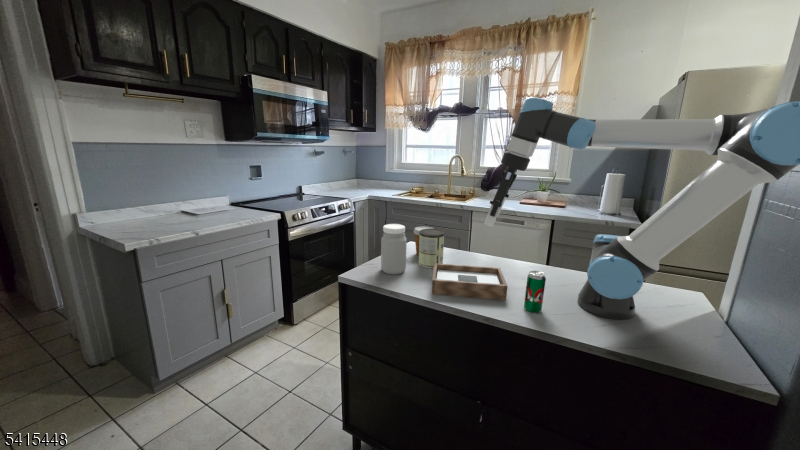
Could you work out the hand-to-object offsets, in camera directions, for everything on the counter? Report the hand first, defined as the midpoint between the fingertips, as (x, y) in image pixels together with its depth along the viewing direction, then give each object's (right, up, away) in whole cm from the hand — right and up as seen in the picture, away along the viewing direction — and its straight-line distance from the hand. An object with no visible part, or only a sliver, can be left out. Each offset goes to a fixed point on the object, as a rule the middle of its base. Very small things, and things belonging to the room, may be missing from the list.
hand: (491, 219), depth 102 cm
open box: (-5, -23, +12) cm, 27 cm away
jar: (-31, -20, +26) cm, 45 cm away
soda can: (+12, -28, -3) cm, 30 cm away
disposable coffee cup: (-18, -15, +45) cm, 51 cm away
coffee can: (-16, -18, +33) cm, 41 cm away
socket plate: (-5, -23, +12) cm, 27 cm away
